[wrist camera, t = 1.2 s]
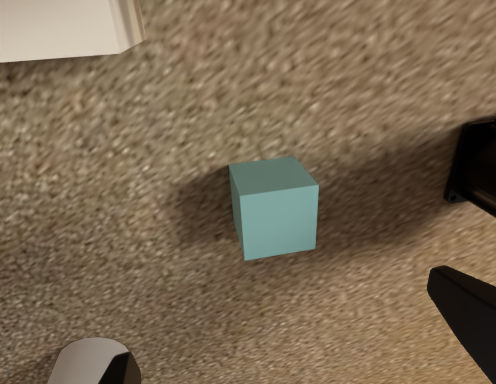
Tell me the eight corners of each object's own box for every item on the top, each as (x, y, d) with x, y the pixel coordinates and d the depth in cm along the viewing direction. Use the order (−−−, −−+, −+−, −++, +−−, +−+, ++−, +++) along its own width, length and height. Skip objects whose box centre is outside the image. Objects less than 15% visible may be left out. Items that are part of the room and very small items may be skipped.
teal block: (292, 211, 24) (315, 248, 20) (233, 220, 24) (244, 260, 20) (293, 155, 22) (318, 184, 18) (228, 164, 21) (239, 196, 17)
